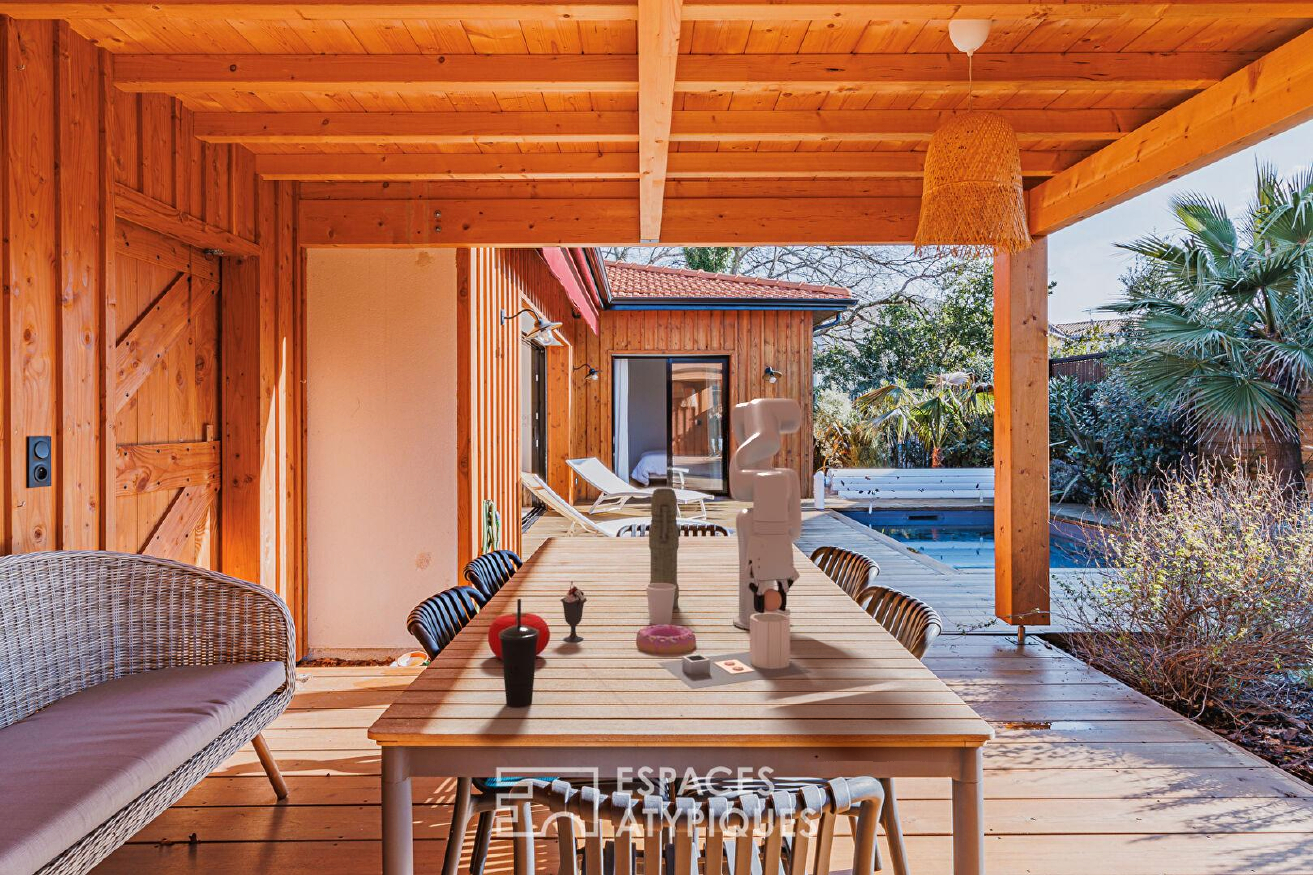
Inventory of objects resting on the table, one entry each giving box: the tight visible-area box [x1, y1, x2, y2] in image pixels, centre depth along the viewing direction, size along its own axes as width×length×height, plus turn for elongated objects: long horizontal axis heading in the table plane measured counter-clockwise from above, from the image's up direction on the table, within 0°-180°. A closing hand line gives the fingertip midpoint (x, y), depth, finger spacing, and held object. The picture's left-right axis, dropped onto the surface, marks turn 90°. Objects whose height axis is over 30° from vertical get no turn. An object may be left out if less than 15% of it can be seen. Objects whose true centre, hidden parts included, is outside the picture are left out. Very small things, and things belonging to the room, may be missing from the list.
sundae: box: [559, 581, 588, 643], centre depth 191 cm, size 7×7×15 cm
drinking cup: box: [499, 598, 539, 709], centre depth 147 cm, size 8×8×20 cm
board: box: [658, 651, 812, 690], centre depth 165 cm, size 28×18×2 cm, turn 112°
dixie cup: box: [645, 583, 676, 625], centre depth 209 cm, size 8×8×10 cm
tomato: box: [487, 612, 551, 660], centre depth 176 cm, size 14×13×10 cm
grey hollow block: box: [681, 653, 710, 676], centre depth 162 cm, size 4×4×3 cm
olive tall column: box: [648, 487, 680, 610], centre depth 227 cm, size 9×12×35 cm
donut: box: [635, 624, 697, 655], centre depth 182 cm, size 14×14×5 cm
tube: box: [749, 613, 791, 669], centre depth 169 cm, size 9×9×10 cm
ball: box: [762, 588, 782, 612], centre depth 169 cm, size 5×5×5 cm
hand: (770, 609), depth 169 cm, fingers closed on ball, 4 cm apart
